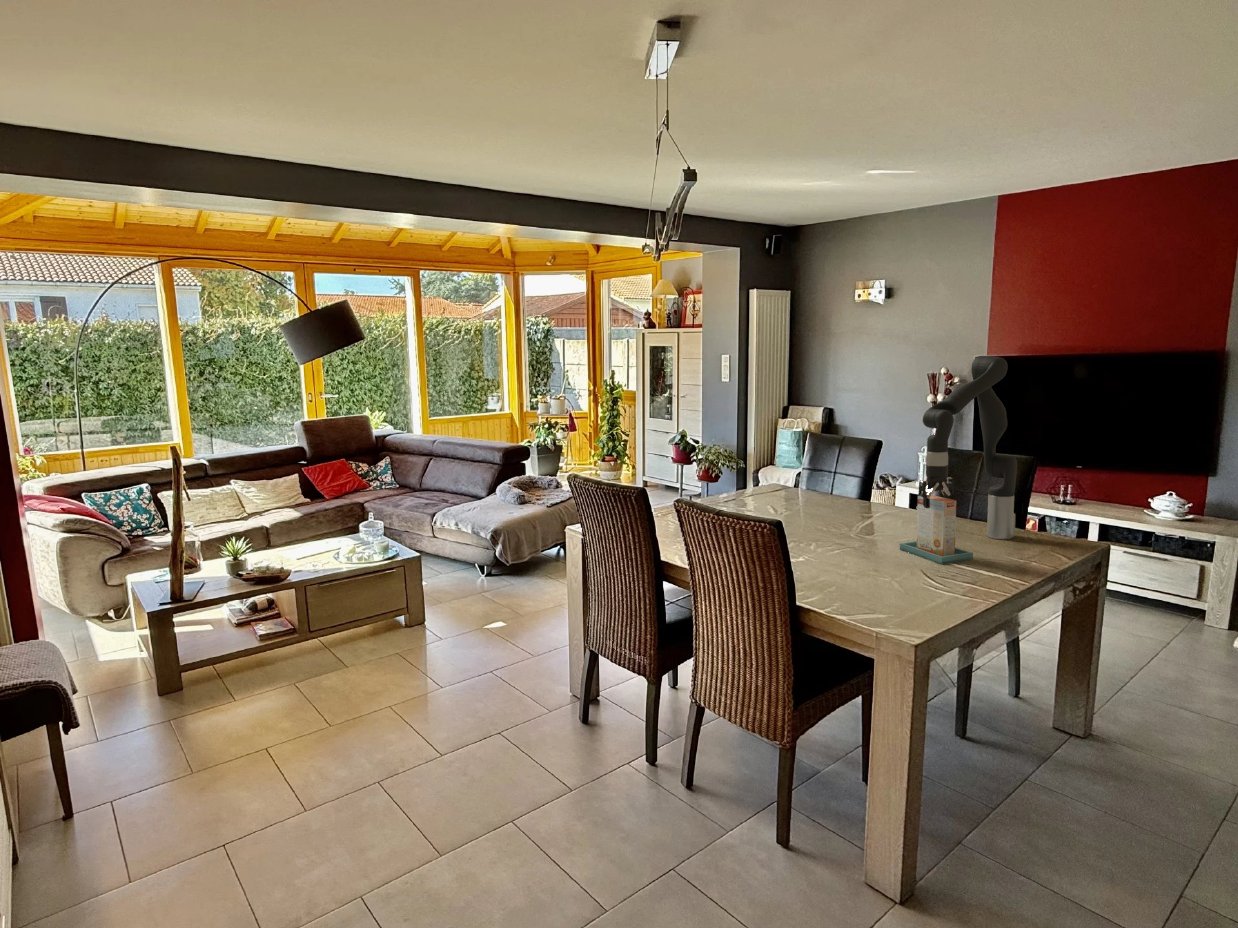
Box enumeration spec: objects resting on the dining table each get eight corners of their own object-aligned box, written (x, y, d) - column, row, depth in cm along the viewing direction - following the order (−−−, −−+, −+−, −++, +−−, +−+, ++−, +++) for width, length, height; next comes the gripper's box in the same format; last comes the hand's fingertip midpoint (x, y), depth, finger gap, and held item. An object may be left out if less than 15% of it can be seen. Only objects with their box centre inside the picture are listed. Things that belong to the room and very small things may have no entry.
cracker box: (955, 555, 269) (957, 499, 266) (942, 557, 267) (943, 501, 264) (928, 546, 282) (929, 493, 279) (915, 548, 280) (916, 495, 277)
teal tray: (929, 545, 287) (929, 539, 287) (972, 559, 266) (972, 552, 266) (899, 549, 283) (899, 543, 282) (941, 564, 262) (941, 557, 262)
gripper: (945, 460, 275) (944, 502, 278) (914, 464, 271) (913, 506, 273) (960, 463, 268) (959, 506, 271) (928, 466, 264) (927, 510, 266)
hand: (936, 506), depth 272 cm, fingers open, 8 cm apart
